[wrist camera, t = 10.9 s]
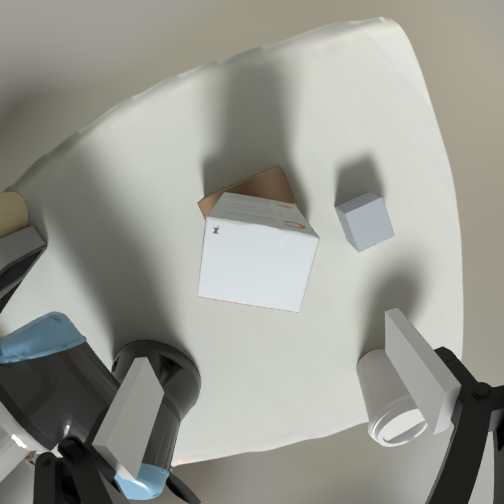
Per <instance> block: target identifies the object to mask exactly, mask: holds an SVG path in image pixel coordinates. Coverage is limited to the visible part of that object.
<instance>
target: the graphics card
mask: <svg viewBox="0 0 504 504" xmlns="http://www.w3.org/2000/svg"><path fill="white" fill-rule="evenodd" d="M46 249H47V245H46V243H45V242H44V240H43V239H42V238H41V236H40V235H39V233H38V232H37V230H36V229H35V227H34V226H29V227H27V228H24V229H22V230H19V231H17V232H15V233H12V234H10V235H8V236H5V237H3V238H1V239H0V313H1V312H2V310H3V308H4V307H5V305H6V304H7V303H8V301H9V300H10V298H11V296H12V295H13V294H14V292H15V290H16V289H17V288H18V286H19V285H20V284H21V282H22V281H23V279H24V278H25V276H26V275H27V274H28V272H29V271H30V269H31V268H32V267H33V265H34V264H35V263H36V262H37V260H38V259H39V258H40V256H41V255H42V254H43V253H44V251H45V250H46Z"/></svg>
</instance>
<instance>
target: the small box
mask: <svg viewBox="0 0 504 504" xmlns="http://www.w3.org/2000/svg"><path fill="white" fill-rule="evenodd" d="M319 239H320V238H319V236H318V235H317V234H316V232H315V231H314V230H313V228H312V227H311V226H310V224H309V223H308V221H307V220H306V219H305V217H304V216H303V215H302V213H301V212H300V211H299V209H298V208H297V207H296V205H295V204H291V203H286V202H281V201H276V200H270V199H265V198H259V197H253V196H247V195H241V194H235V193H228V192H224V193H223V195H222V196H221V197H220V198H219V200H218V201H217V203H216V204H215V206H214V207H213V208H212V210H211V211H210V212H209V214H208V215H207V217H206V221H205V231H204V240H203V249H202V258H201V267H200V276H199V286H198V294H197V296H198V297H202V298H208V299H214V300H220V301H226V302H232V303H238V304H245V305H251V306H257V307H264V308H270V309H278V310H284V311H292V312H299V311H300V308H301V304H302V301H303V297H304V294H305V290H306V287H307V283H308V280H309V276H310V272H311V269H312V265H313V261H314V258H315V254H316V250H317V246H318V243H319Z"/></svg>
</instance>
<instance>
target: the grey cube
mask: <svg viewBox="0 0 504 504" xmlns="http://www.w3.org/2000/svg"><path fill="white" fill-rule="evenodd" d="M335 210H336V212H337V215H338V217H339V220H340V222H341V225H342V227H343V230H344V233H345V235H346V238H347V241H348V242H349V243H350V244H351V245H352V246H353V247H354V248H355V249H356V250H357V251H358V252H361V251H363V250H365V249H367V248H370V247H372V246H374V245H376V244H378V243H380V242H382V241H384V240H386V239H389V238H391V237H393V236H395V235H394V231H393V228H392V225H391V222H390V219H389V215H388V212H387V209H386V206H385V203H384V201H383V198H382V197H381V196H378V195H375V194H373V193H370V192H367V193H364V194H362V195H360V196H358V197H355V198H353V199H351V200H348V201H346V202H344V203H342V204H339V205H337V206H335Z"/></svg>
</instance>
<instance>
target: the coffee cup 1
mask: <svg viewBox="0 0 504 504" xmlns="http://www.w3.org/2000/svg"><path fill="white" fill-rule="evenodd" d="M27 225H28V209H27V205H26V203H25V201H24V199H23V197H22V196H21V195H20V194H19V193H17V192H3V193H0V239H1V238H3V237H5V236H8V235H10V234H12V233H15V232H17V231H19V230H22V229H24V228H27Z"/></svg>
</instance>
